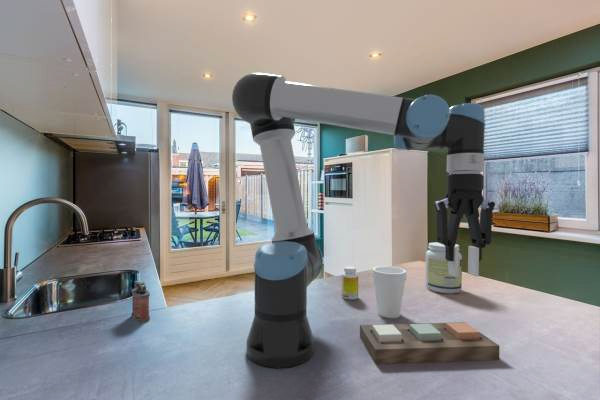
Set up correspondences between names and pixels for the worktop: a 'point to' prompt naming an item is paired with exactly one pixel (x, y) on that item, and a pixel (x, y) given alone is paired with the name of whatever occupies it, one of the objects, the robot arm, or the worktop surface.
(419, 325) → the sage tile
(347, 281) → the supplement bottle
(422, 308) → the worktop surface
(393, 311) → the foam cup
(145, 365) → the worktop surface
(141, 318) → the lighter
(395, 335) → the cream tile
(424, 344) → the walnut board
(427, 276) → the supplement tub
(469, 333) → the terracotta tile
